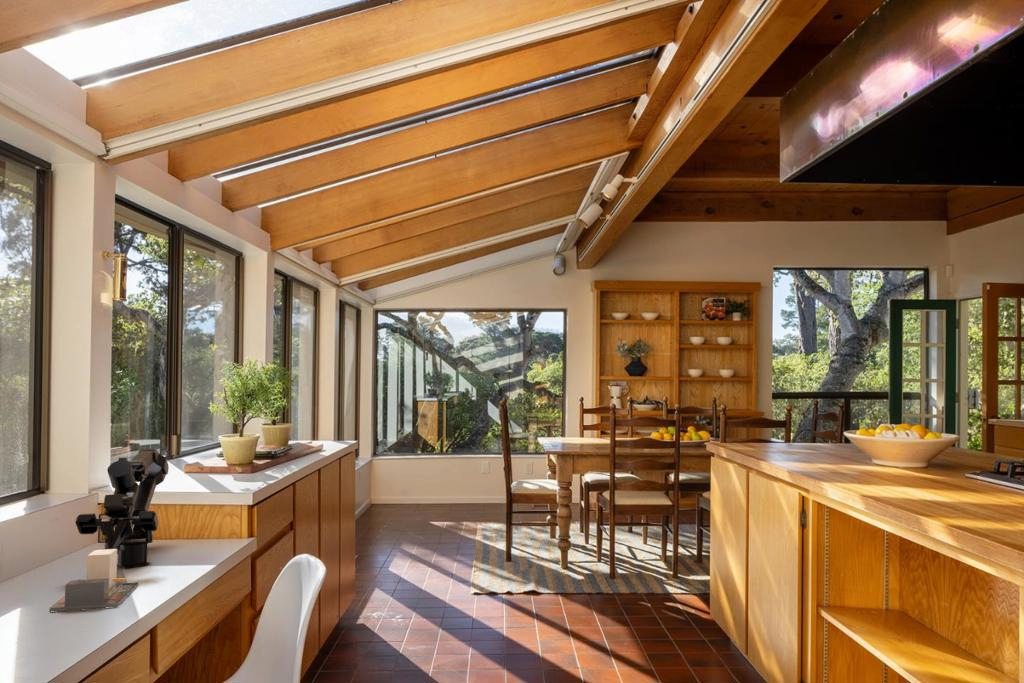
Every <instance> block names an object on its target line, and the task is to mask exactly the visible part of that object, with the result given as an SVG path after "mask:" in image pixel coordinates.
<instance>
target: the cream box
mask: <svg viewBox="0 0 1024 683" xmlns="http://www.w3.org/2000/svg"><path fill="white" fill-rule="evenodd" d="M117 563H118V554H117V549H105V548H103V549H95V550H93V551H91V552H90V553H89V554H87V555H86V575H85V576H86V577H85V578H86V579H85V580H89V579H105V578H109V589H108V592H109V591H110V590H111V589H112V588H113V587H115V586H116V584H117V582H124V581H125V577H121V578H120V577H119V578H117V566H118V565H117Z"/></svg>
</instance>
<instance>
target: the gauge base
mask: <svg viewBox="0 0 1024 683" xmlns="http://www.w3.org/2000/svg"><path fill="white" fill-rule="evenodd" d="M64 586H65V589H64V596H63V597H62V598H60V599H59V600H58V601H57V602H55V603H54V604H53V605H52V606H51V607H49V612H51V611H65V612H69V611H68V610H79V611H83V610H82V609H92V610H97V609H96V608H106V607H118V606H119V605H120V604H121V603H122V602H123V601H124V600H125V599H126V598H127V597H129V596H131V594H132V593H134V591H135V590H136V589H137V588H138V587H139V582H124V583H123V582H118V583H116V586H115V587H113V588H112V589H111V590H110V591H109V592H108V589H109V578H105V579H89V580H86V579H75V580H73V579H72V580H70V581H68V582H67V583H66V584H64ZM137 586H138V587H137ZM136 587H137V588H136ZM127 599H128V598H127ZM127 599H126V600H127ZM126 600H125V601H126ZM125 601H124V602H125ZM124 602H123V603H124ZM123 603H122V604H123ZM122 604H121V605H122ZM121 605H120V606H121ZM120 606H119V607H120ZM119 607H118V608H119ZM106 609H107V608H106ZM51 613H52V612H51Z"/></svg>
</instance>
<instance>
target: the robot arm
mask: <svg viewBox="0 0 1024 683" xmlns="http://www.w3.org/2000/svg"><path fill="white" fill-rule="evenodd" d="M107 474H108V478H109V482H110V484H111V487H112V488H113V489H114V490H113V493H112V494H105V495H104V499H103V505H102V508H103V509H105V510H104V512H103V513H105V515H103V516H101V519H99V518H97V516H96V513H80V514H78V515H77V517H76V518H75V526H76V527H77V531H78V533H79V534H80V535H94V534H95V533H96V532H97V533H98V527H100V528H101V533H102V534H101V535H102V536H104V537H105V536H107V542H108V549H115V548H116V547H117V546H118V545H120V550H118V554H117V566H118V567H121V568H123V569H131V568H137V567H141V566H147V565H150V562H149V561H148V545H149V544H151V543H153V539H154V538H153V536H154V535H153V532H157V530H158V527H159V520H158V515H157V513H156V511H155V510H149V508H150V505H151V502H152V500H153V496H154V494H155V490H156V488H157V486H158V485H159V484H162V483H164V480H165V478H166V477H167V476H166V475H168V474H169V463H168V459H167V457H165V456H163V455H162V454H161V453H159V450H158V449H155V448H142V449H140V450H138V453H137V454H136V455H134V456H133V458H131V459H130V460H128V458H127V457H118V460H116V461H114V462H112V463H111V464H110V465H109V466H108V467H107ZM106 515H108V516H106ZM114 529H115V531H114Z"/></svg>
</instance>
